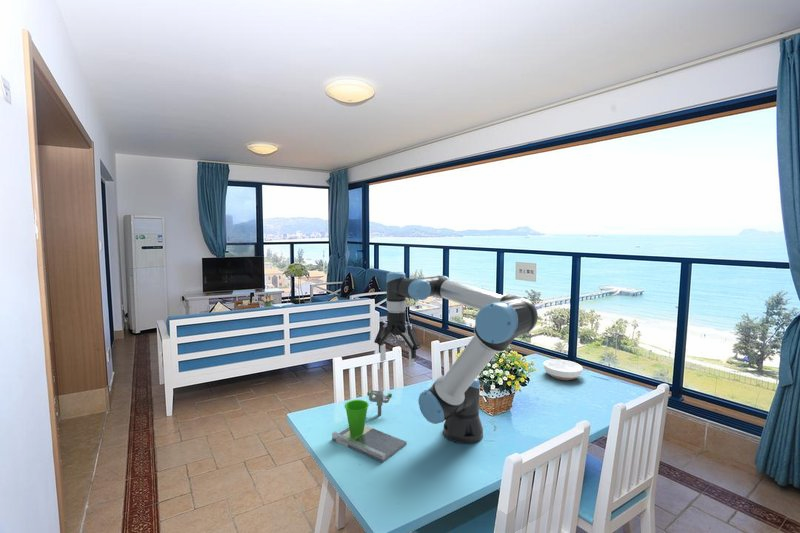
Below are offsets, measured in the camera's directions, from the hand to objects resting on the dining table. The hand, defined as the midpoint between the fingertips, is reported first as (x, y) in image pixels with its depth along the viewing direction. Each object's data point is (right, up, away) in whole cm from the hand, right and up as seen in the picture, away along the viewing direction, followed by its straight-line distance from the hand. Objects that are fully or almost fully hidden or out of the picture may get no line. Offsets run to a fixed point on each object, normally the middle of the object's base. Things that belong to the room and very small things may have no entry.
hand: (397, 363), depth 156 cm
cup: (-15, -25, -7) cm, 30 cm away
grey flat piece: (-10, -26, -12) cm, 30 cm away
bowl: (+88, -21, +54) cm, 105 cm away
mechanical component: (-8, -24, +9) cm, 27 cm away
